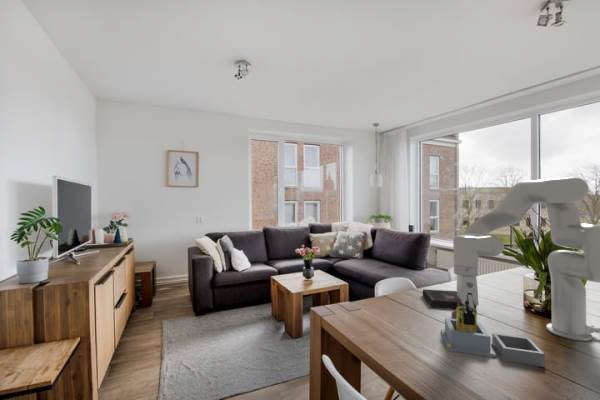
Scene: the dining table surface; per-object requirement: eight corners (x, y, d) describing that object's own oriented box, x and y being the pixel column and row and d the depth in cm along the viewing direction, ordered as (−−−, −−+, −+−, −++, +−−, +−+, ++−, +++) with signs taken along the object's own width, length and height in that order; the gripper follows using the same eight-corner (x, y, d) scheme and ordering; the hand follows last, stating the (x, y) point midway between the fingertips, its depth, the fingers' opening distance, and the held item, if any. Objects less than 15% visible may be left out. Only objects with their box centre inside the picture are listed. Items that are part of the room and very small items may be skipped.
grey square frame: (528, 349, 94) (528, 337, 94) (544, 367, 84) (544, 353, 84) (492, 344, 97) (492, 333, 97) (503, 360, 87) (503, 348, 87)
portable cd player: (470, 311, 128) (470, 302, 128) (431, 308, 131) (431, 300, 131) (457, 298, 144) (457, 291, 144) (422, 296, 147) (422, 289, 147)
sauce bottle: (457, 340, 96) (456, 284, 97) (455, 332, 102) (454, 279, 102) (478, 344, 94) (477, 286, 94) (475, 336, 100) (474, 281, 100)
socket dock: (482, 337, 102) (482, 321, 102) (496, 357, 89) (495, 339, 89) (441, 331, 107) (440, 316, 107) (447, 350, 94) (447, 332, 94)
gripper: (485, 277, 89) (486, 332, 89) (471, 265, 105) (471, 312, 105) (459, 275, 91) (460, 329, 91) (449, 264, 108) (449, 310, 107)
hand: (466, 319), depth 98 cm, fingers closed on sauce bottle, 6 cm apart
